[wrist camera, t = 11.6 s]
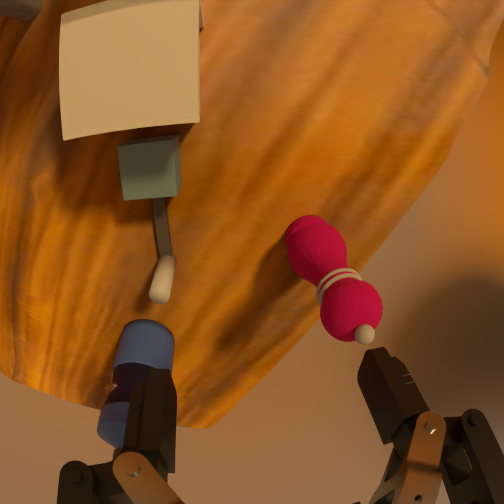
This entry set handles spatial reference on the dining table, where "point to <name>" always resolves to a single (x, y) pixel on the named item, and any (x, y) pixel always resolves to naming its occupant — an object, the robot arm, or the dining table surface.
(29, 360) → the dining table surface
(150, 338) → the water bottle
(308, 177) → the dining table surface
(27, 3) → the hip flask
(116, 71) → the shelf
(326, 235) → the pepper mill
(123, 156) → the grey block with handle
